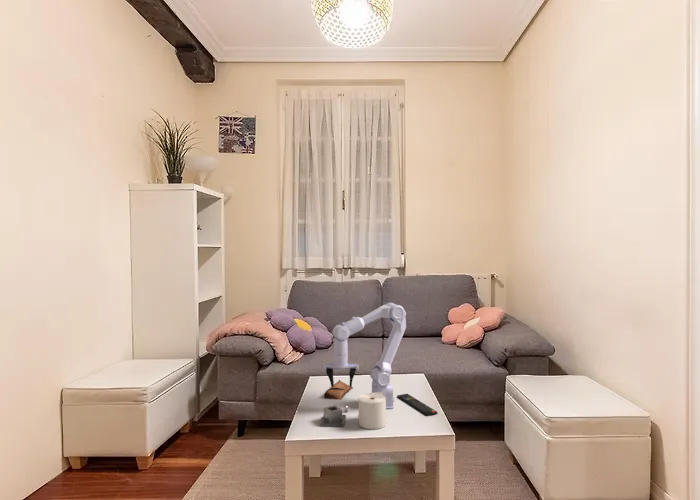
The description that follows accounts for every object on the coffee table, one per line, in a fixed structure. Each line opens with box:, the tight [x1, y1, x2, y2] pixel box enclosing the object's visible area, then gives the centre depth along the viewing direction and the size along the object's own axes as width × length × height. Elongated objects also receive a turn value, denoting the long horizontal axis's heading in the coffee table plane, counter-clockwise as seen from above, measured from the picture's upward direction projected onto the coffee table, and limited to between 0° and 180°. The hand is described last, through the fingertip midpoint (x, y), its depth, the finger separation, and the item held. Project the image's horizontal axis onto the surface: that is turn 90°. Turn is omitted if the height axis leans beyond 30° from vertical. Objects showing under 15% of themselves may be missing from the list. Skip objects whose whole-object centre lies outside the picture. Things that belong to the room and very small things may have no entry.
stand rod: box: [343, 404, 349, 413], centre depth 175 cm, size 1×1×2 cm
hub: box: [319, 414, 347, 428], centre depth 166 cm, size 9×9×4 cm
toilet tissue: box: [358, 392, 387, 430], centre depth 164 cm, size 11×12×10 cm
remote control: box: [396, 393, 438, 417], centre depth 181 cm, size 5×24×1 cm, turn 24°
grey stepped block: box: [322, 404, 343, 423], centre depth 166 cm, size 6×6×4 cm
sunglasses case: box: [323, 379, 354, 401], centre depth 198 cm, size 18×7×7 cm
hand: (341, 386), depth 177 cm, fingers open, 7 cm apart
